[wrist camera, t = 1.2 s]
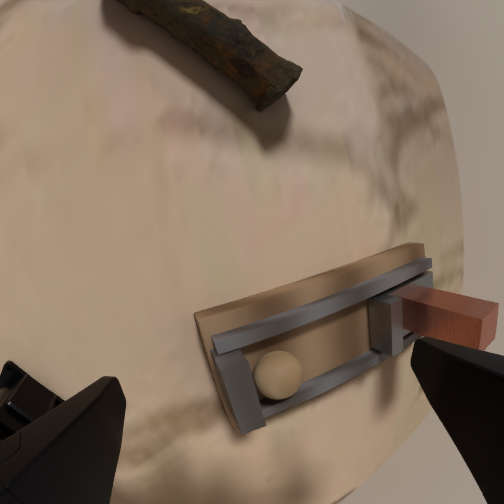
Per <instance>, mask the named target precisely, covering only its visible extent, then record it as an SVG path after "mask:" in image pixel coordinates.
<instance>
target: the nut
mask: <svg viewBox="0 0 504 504" xmlns="http://www.w3.org/2000/svg"><path fill="white" fill-rule="evenodd" d="M253 380H254V384H255V386H256V388H257V390H258V391H259V392H260V393H261V394H263V395H264V396H266V397H268V398H271V399H285V398H288V397H290V396H291V395H293V394H294V393H295V392H297V390H298V389H299V388H300V386H301V384H302V381H303V368H302V365H301V363H300V362H299V360H298V359H297V358H296V357H295V356H293V355H292V354H290V353H288V352H285V351H273V352H269V353H267V354H265V355H264V356H262V357H261V358H260V359H259V360H258V361H257V363H256V365H255V367H254V370H253Z"/></svg>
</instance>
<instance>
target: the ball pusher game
mask: <svg viewBox="0 0 504 504" xmlns="http://www.w3.org/2000/svg"><path fill="white" fill-rule="evenodd" d="M430 268H432V258H425V252H424V244H421V243H405V244H403V245H400V246H397V247H395V248H392V249H389V250H386V251H384V252H381V253H378V254H375V255H373V256H370V257H367V258H364V259H361V260H359V261H356V262H353V263H350V264H347V265H344V266H341V267H339V268H336V269H333V270H330V271H327V272H324V273H321V274H318V275H315V276H312V277H309V278H306V279H303V280H300V281H297V282H294V283H291V284H288V285H284V286H281V287H278V288H275V289H272V290H269V291H266V292H262V293H259V294H256V295H253V296H249V297H246V298H243V299H240V300H236V301H233V302H230V303H226V304H223V305H220V306H216V307H213V308H209V309H206V310H202V311H199V312H195V313H194V316H195V319H196V323H197V326H198V329H199V333H200V336H201V339H202V343H203V346H204V349H205V352H206V356H207V359H208V362H209V365H210V368H211V371H212V374H213V377H214V380H215V383H216V386H217V389H218V392H219V395H220V398H221V401H222V403H223V406H224V409H225V412H226V415H227V417H228V419H229V421H230V423H231V425H232V427H233V429H237V428H239V430H240V432H241V434H245V433H248V432H251V431H253V430H256V429H259V428H261V427H264V426H266V424H265V420H264V418H267V417H270V416H272V415H275V414H277V413H280V412H282V411H284V410H287V409H289V408H292V407H294V406H296V405H299V404H301V403H303V402H305V401H307V400H310V399H312V398H314V397H316V396H318V395H320V394H323V393H325V392H327V391H329V390H331V389H333V388H335V387H337V386H339V385H341V384H343V383H345V382H346V381H348V380H350V379H352V378H354V377H356V376H358V375H360V374H361V373H363V372H365V371H367V370H369V369H370V368H372V367H374V366H376V365H377V364H379V363H381V362H382V361H384V360H386V359H387V358H389V357H390V356H388V355H386V354H384V353H382V352H380V351H378V350H376V349H374V348H372V347H371V337H370V322H369V310H368V299H367V298H369V297H372V296H374V295H376V294H378V293H380V292H383V291H385V290H387V289H389V288H391V287H393V286H395V285H398V284H400V283H402V282H404V281H406V280H408V279H410V278H412V277H414V276H416V275H418V274H420V273H422V272H424V271H426V270H428V269H430ZM420 337H422V336H421V335H418V334H416V333H413V332H410V333H408V334H406V335H405V336H403V349H404V348H405V347H407V346H408V345H410V344H411V343H413V342H414V341H416V340H417V339H419V338H420ZM273 351H285V352H288V353H290V354H292V355H293V356H295V357H296V358H297V359H298V360H299V362H300V363H301V365H302V368H303V381H302V384H301V386H300V388H299V389H298V390H297V392H295V393H294V394H293V395H291V396H290V397H288V398H285V399H271V398H268V397H266V396H264V395H263V394H261V393H260V392H259V391H258V390H257V388H256V386H255V384H254V380H253V370H254V367H255V365H256V363H257V361H258V360H259V359H260V358H261V357H262V356H264V355H265V354H267V353H269V352H273Z"/></svg>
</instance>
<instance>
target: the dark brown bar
mask: <svg viewBox="0 0 504 504" xmlns="http://www.w3.org/2000/svg"><path fill="white" fill-rule="evenodd" d="M118 1H120V2H121V3H123V4H124V6H126V7H127V8H128V9H129V10H130V11H131V12H132V13H134V14H142V13H143V14H144V15H146V16H148V17H150V18H151V19H153V20H154V21H155V22H157V23H158V24H160V25H161V26H163V27H164V28H165V29H167V30H168V31H169V32H170V33H171V34H172V35H174V36H175V37H176V38H178V39H180V40H182V41H184V42H185V43H187V44H188V45H189V46H190V47H192V48H193V49H194V50H196V51H197V52H198V53H199V54H201V55H202V56H203V57H204V58H205V59H206V60H208V61H209V62H210V63H211V64H212V65H213V66H214V67H215V68H217V69H219V70H221V71H223V72H224V73H225V74H226V75H228V76H229V77H230V78H231V79H232V80H234V81H235V82H236V83H238V84H239V85H240V86H241V87H243V88H244V89H245V90H246V91H247V92H248V93H249V94H250V95H251V96H252V97H253V99H254V100H255V102H256V110H257V111H262V110H263V109H265V108H266V107H268V106H270V105H271V104H272V103H274V102H275V101H276V100H278V99H279V98H280V97H281V96H282V95H284V94H285V93H286V92H287V91H288V90H289V89H290V88H291V86H292V85H293V84H294V83H295V82H296V81H297V80H298V79H299V77H300V74H301V72H302V70H303V69H302V68H301V67H300V66H298V65H296V64H294V63H293V62H290V61H287V60H285V59H284V58H282V57H280V56H278V55H277V54H276V53H275V52H273V51H272V50H271V49H270V48H269V47H268V46H266V45H265V44H264V43H262V42H261V41H260V40H258V39H257V38H256V37H254V36H253V35H252V34H251V32H250V31H249V30H248V29H247V27H246V26H245V25H244V24H242V22H241V20H238V19H232V18H229V17H228V16H226V15H225V14H224V13H222V12H220V11H219V10H217V9H216V8H214V7H212V6H211V5H209V4H208V3H206V2H205V1H203V0H118Z"/></svg>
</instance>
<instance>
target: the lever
mask: <svg viewBox="0 0 504 504" xmlns="http://www.w3.org/2000/svg"><path fill="white" fill-rule="evenodd" d="M367 299H368V310H369V322H370V337H371V347H372V348H374V349H376V350H378V351H380V352H382V353H384V354H386V355H388V356H390V357H394V356H396V355H397V354H399V353H400V352H402V351H403V336H405V335H406V334H408V333H410V332H413V333H416V334H418V335H421V336H424V337H425V336H428V337H432V338H436V339H439V340H443V341H447V342H451V343H454V344H458V345H462V346H466V347H470V348H474V349H478V350H482V351H484V350H485V349H486V348H487V347H488V345H489V344H490V343H491V342H492V341H493V340H494V339H495V333H496V326H497V317H498V306H499V303H495V302H491V301H486V300H482V299H477V298H473V297H468V296H464V295H460V294H455V293H451V292H446V291H442V290H437V289H433V274H432V272H431V271H424V272H422V273H420V274H418V275H416V276H414V277H412V278H410V279H408V280H406V281H404V282H402V283H400V284H398V285H395V286H393V287H391V288H389V289H387V290H385V291H383V292H380V293H378V294H376V295H374V296H372V297H369V298H367Z"/></svg>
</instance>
